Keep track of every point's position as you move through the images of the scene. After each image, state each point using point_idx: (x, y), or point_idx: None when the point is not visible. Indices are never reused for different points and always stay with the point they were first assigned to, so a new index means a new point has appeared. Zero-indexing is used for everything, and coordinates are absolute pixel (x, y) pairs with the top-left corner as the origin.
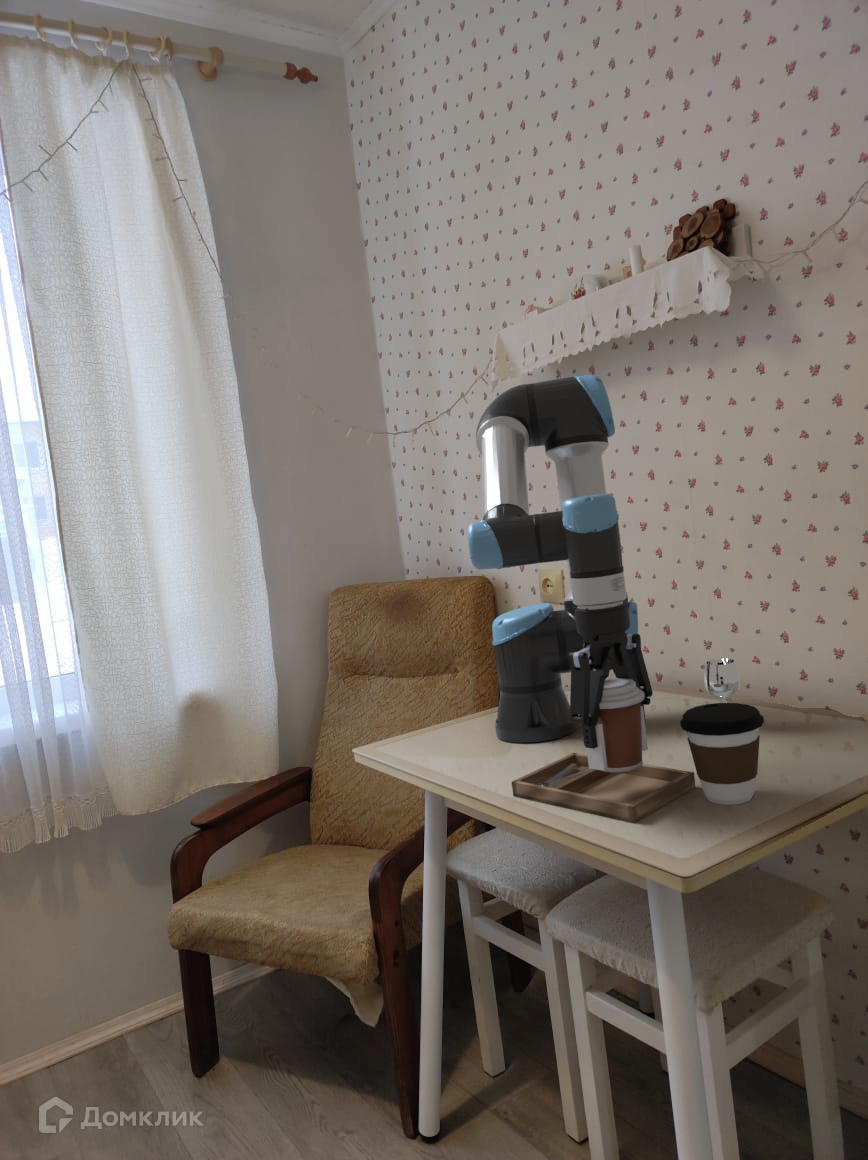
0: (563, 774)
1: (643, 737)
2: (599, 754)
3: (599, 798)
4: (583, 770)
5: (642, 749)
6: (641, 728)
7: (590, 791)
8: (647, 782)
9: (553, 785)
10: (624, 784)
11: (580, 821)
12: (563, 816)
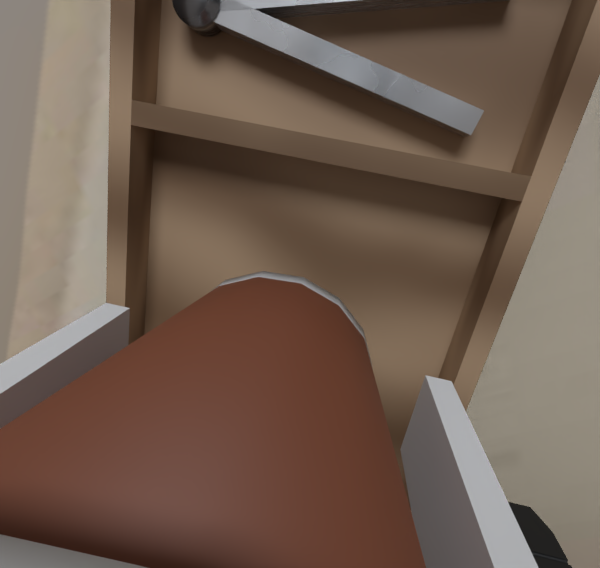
0: (366, 2)
1: (410, 503)
2: None
3: None
4: (426, 85)
5: (404, 441)
6: (421, 548)
7: (269, 203)
8: (401, 356)
9: (237, 33)
10: (367, 290)
11: (77, 269)
12: (82, 201)
